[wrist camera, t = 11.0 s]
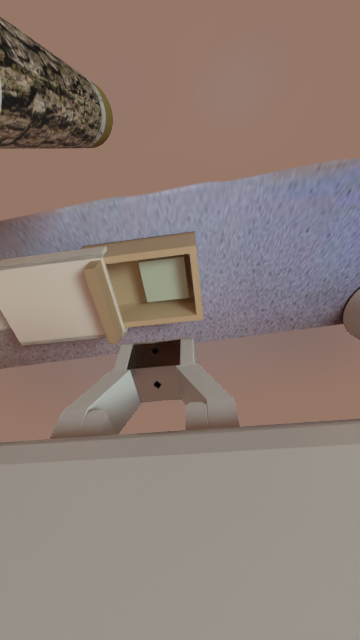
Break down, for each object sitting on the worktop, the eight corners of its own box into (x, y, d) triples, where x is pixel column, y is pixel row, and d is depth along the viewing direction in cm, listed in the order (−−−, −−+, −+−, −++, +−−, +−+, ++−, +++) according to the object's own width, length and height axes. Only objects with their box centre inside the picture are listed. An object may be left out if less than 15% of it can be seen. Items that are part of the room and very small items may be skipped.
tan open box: (194, 231, 41) (196, 245, 35) (201, 298, 47) (203, 319, 41) (84, 246, 42) (67, 261, 36) (105, 308, 49) (94, 330, 43)
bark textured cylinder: (51, 84, 31) (-217, -43, 10) (106, 75, 31) (-59, -76, 10) (70, 151, 35) (-99, 156, 14) (119, 144, 34) (20, 140, 14)
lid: (106, 246, 37) (93, 261, 32) (129, 324, 45) (122, 347, 40) (-11, 261, 39) (-40, 278, 34) (30, 335, 46) (12, 357, 41)
